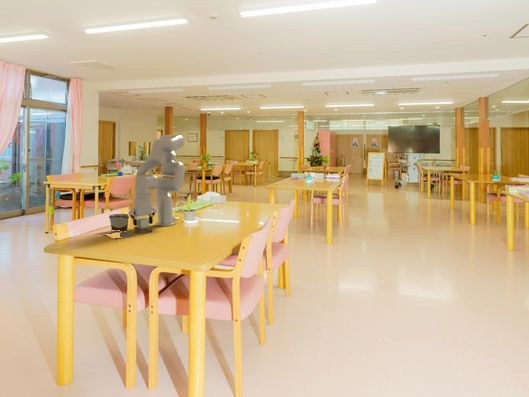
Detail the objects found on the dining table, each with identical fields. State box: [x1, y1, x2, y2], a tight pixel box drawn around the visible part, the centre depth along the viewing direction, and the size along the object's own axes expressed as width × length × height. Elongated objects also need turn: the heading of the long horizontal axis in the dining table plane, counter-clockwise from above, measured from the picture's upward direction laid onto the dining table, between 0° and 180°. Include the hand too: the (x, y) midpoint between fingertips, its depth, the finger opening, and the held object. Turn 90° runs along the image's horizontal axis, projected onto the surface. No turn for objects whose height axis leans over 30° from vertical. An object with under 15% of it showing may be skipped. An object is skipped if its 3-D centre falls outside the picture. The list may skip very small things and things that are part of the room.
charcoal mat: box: [120, 231, 136, 238], centre depth 227 cm, size 12×16×1 cm
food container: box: [108, 213, 130, 232], centre depth 241 cm, size 12×6×10 cm, turn 84°
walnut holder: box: [133, 225, 153, 235], centre depth 236 cm, size 8×8×3 cm
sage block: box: [136, 217, 150, 229], centre depth 236 cm, size 5×5×8 cm
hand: (143, 224), depth 236 cm, fingers open, 9 cm apart
